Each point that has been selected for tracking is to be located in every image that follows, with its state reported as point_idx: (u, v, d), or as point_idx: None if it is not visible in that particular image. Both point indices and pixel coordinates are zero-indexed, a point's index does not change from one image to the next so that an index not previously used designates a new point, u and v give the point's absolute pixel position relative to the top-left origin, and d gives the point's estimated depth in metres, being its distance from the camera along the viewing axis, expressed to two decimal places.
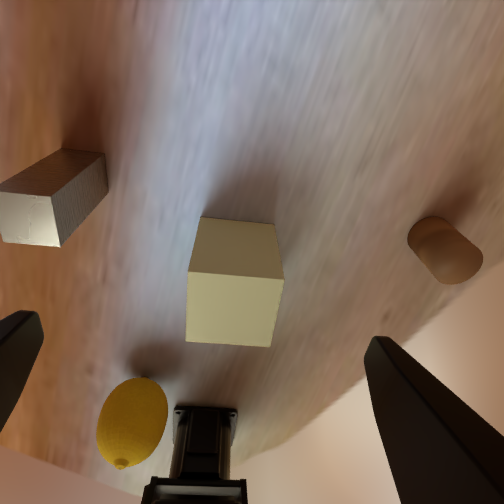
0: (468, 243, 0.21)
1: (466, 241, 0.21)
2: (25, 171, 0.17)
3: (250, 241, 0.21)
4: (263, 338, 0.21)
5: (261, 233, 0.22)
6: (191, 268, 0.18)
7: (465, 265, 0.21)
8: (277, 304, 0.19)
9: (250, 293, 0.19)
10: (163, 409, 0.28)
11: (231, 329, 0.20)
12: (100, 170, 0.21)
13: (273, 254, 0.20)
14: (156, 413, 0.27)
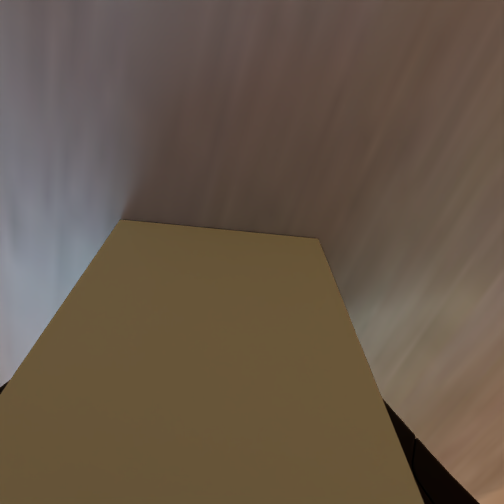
0: None
1: None
2: None
3: (259, 301, 0.07)
4: None
5: (289, 268, 0.08)
6: None
7: None
8: None
9: None
10: None
11: None
12: None
13: (343, 357, 0.06)
14: None
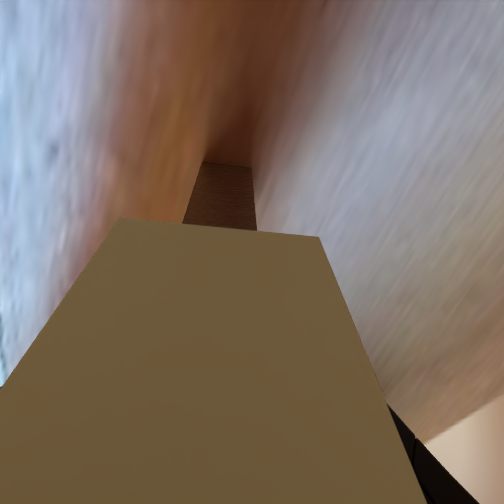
0: None
1: None
2: (196, 194, 0.14)
3: (259, 299, 0.07)
4: None
5: (290, 266, 0.08)
6: None
7: None
8: None
9: None
10: None
11: None
12: None
13: (344, 355, 0.06)
14: None
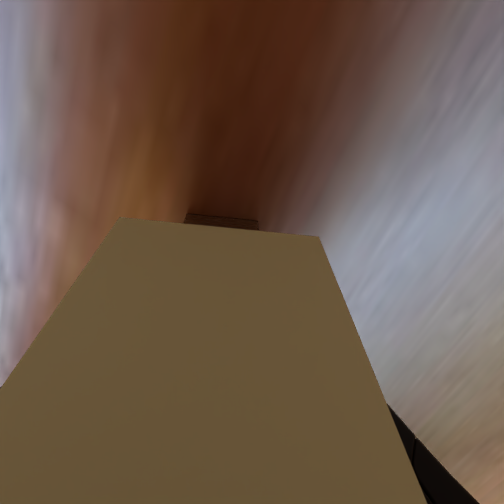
0: None
1: None
2: None
3: (259, 298, 0.07)
4: None
5: (290, 266, 0.08)
6: None
7: None
8: None
9: None
10: None
11: None
12: None
13: (344, 355, 0.06)
14: None
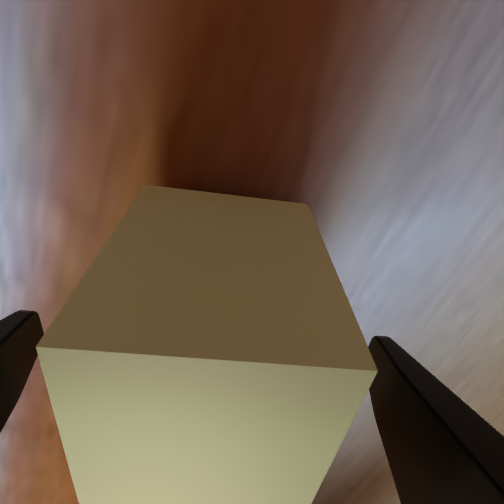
0: None
1: None
2: None
3: (258, 241, 0.08)
4: (291, 500, 0.08)
5: (283, 222, 0.10)
6: (56, 331, 0.05)
7: None
8: (341, 432, 0.06)
9: (260, 407, 0.06)
10: None
11: (202, 486, 0.07)
12: None
13: (321, 276, 0.07)
14: None
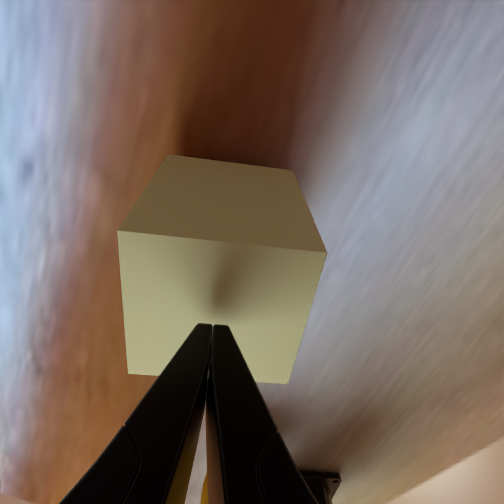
0: None
1: None
2: None
3: (254, 189, 0.12)
4: (276, 369, 0.11)
5: (273, 180, 0.13)
6: (127, 225, 0.08)
7: None
8: (308, 305, 0.09)
9: (254, 281, 0.09)
10: None
11: None
12: None
13: (297, 209, 0.11)
14: None
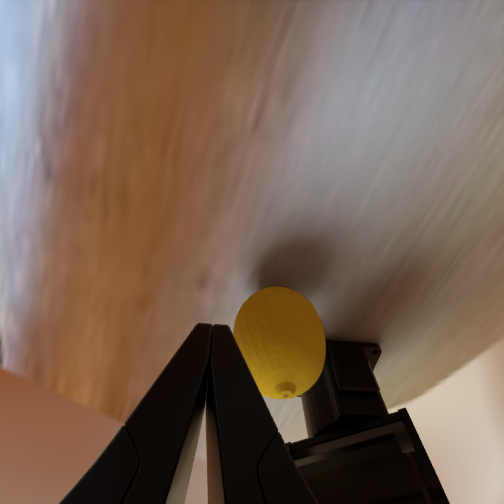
0: None
1: None
2: None
3: None
4: None
5: None
6: None
7: None
8: None
9: None
10: None
11: None
12: None
13: None
14: (319, 326, 0.19)
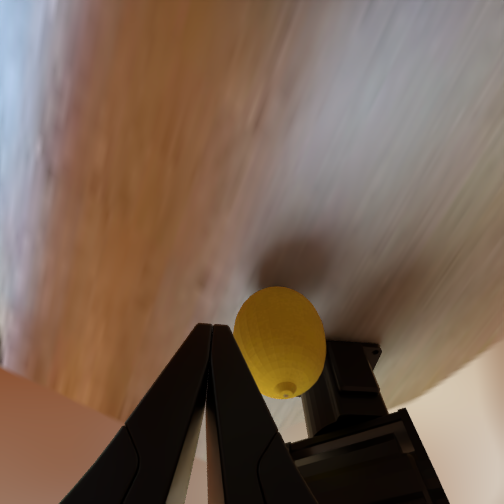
0: None
1: None
2: None
3: None
4: None
5: None
6: None
7: None
8: None
9: None
10: (322, 324, 0.20)
11: None
12: None
13: None
14: (320, 325, 0.19)
